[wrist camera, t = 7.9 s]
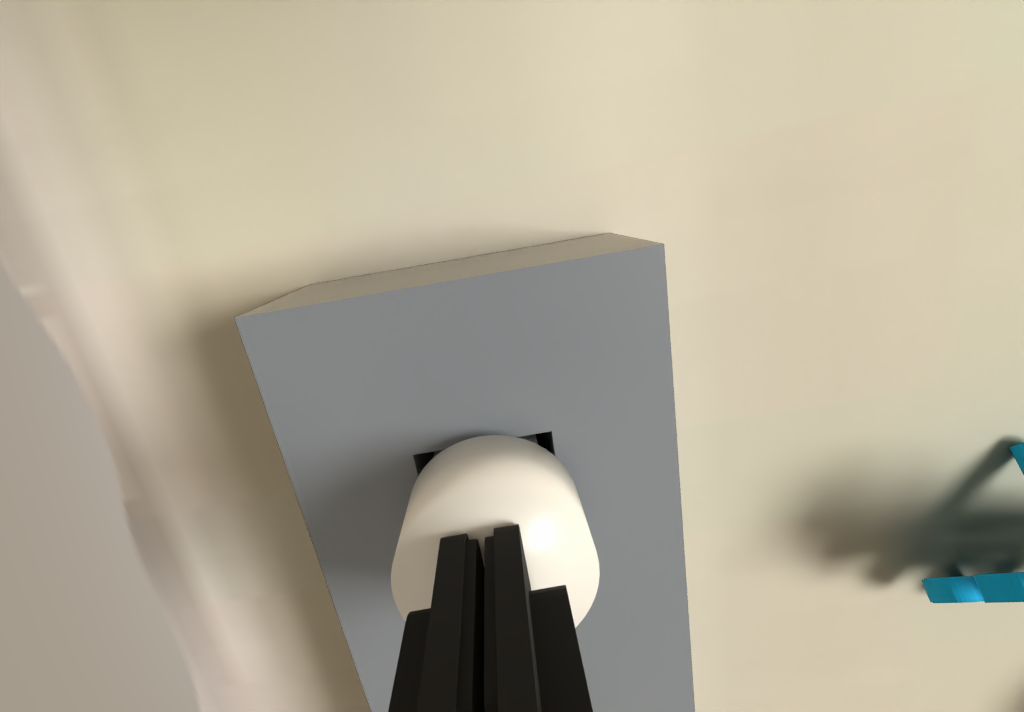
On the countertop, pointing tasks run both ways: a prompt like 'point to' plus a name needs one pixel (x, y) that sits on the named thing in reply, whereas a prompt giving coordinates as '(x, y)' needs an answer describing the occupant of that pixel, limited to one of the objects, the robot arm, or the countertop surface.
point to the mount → (491, 433)
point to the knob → (497, 518)
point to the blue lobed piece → (980, 577)
